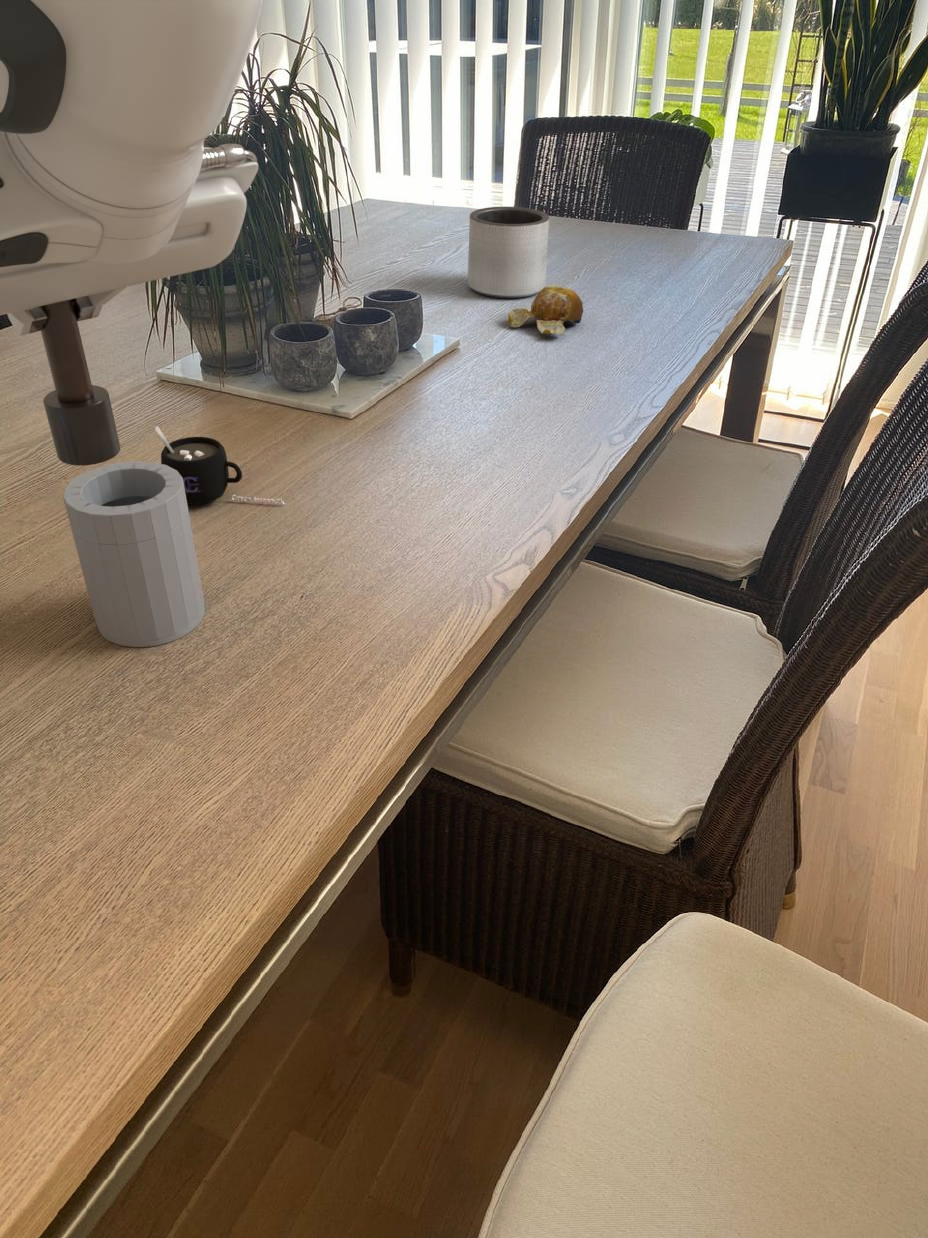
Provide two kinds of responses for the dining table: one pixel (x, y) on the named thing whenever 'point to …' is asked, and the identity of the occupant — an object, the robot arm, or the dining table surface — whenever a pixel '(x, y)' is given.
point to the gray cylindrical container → (136, 552)
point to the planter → (507, 251)
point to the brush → (75, 394)
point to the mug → (202, 468)
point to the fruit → (550, 310)
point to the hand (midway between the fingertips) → (52, 316)
